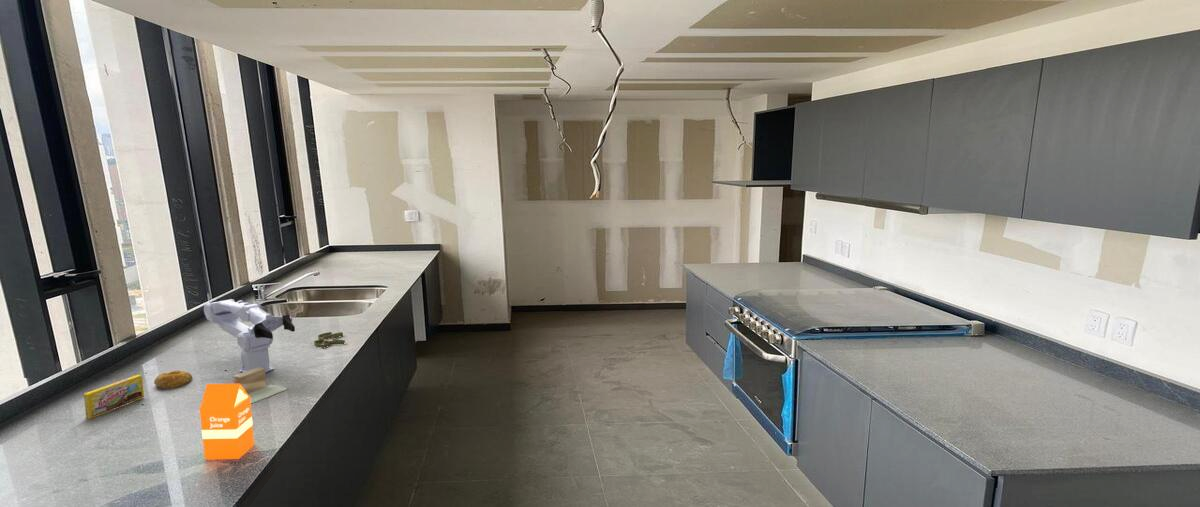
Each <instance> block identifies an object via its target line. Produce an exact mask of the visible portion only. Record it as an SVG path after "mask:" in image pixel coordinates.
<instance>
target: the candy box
mask: <svg viewBox="0 0 1200 507" xmlns="http://www.w3.org/2000/svg"><path fill="white" fill-rule="evenodd" d="M143 385H144V382H143V375H142V374H135V375H133V376H131V377H127V378H124V379H121V380H119V381H115V382H113V383H110V384H107V385H103V386H102V387H100V388H96V389H94V390H91V391H88V392H84V393H83V400H84V412H85V419H86V418H92V419H94V418H96V416H97V417H99V416H102V415H104V414H106V413H105V412H107V411H109V412H111V411H110V410H112V409H114V408H117V407H119V408H121V407H120V406H122V405H124V406H126V405H125V404H127V403H129V404H131V403H130V402H132V401H134V402H136V401H135V400H137V401H138V399H139V400H141V399H140V398H142V399H144V398H145V395H144V392H145V391H144V386H143ZM143 397H144V398H143ZM132 403H133V402H132ZM127 405H128V404H127ZM122 407H123V406H122ZM117 409H118V408H117ZM114 410H115V409H114ZM112 411H113V410H112ZM103 413H104V414H103ZM107 413H108V412H107ZM101 414H102V415H101ZM98 415H99V416H98ZM93 417H94V418H93Z"/></svg>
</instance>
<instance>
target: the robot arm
mask: <svg viewBox="0 0 1200 507" xmlns="http://www.w3.org/2000/svg"><path fill="white" fill-rule="evenodd" d="M203 312H204V313H203V314H204V316H205V318H206V319H207V320H208V321H209V322H212V323H213V324H215V325H217V326H218V327H219V328H220V329H221V331H224V332H226V333H228V334H229V335H231V336H234V338H236V339H237V341H236V342H237V345H238V346H239V347H240V349H242V351H241V352H240V364H241V369H239V372H240V373H243V372H246V371H249V370H252V369H255V368H258V367H260V368H264V369H265V373H267V372H271V371H274V370H275V369H276V367H274V366H270V354H269V348H271V345H273V344H272V343H273V341H274V334H273V332H274V331H276V330H277V329H279V328H281V327H283V330H284V331H285V330H287V331H289V332H293V333H294V332H296V331H295V330H296V329H295V325H294V324H293V317H292V316H291V315H289V314H285V315H281V316H280V315H276V316H275V315H273V313H268V312H267V311H265V310H263V307H262V305H261V304H260V303H259V302H256V303H253V304H252V303H250V302H244V301H243V300H237V301H235V299H234V298H233V299H232V298H230V299H224V300H219V301H214V302H207V303H205V304H204V305H203ZM239 318H240V320H241V321H239V320H238V319H239ZM246 322H250V323H251V324H253V325H251V326H248V325H246V324H245V323H246Z"/></svg>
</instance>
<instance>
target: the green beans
mask: <svg viewBox="0 0 1200 507" xmlns="http://www.w3.org/2000/svg"><path fill="white" fill-rule="evenodd" d="M339 336H342V337H344V332H343V331H341V332H340V331H339V332H337V333H333V332H332V331H329V332H324V333H320V334H318V335H317V340H314V341H313V345H314V347H315V346H316V347H315V348H318V347H322V348H323V349H325V348H328V347H329V346H331V345H330V344H344V343H345V344H346V339H338V338H337V337H339ZM321 337H322V338H321ZM331 337H332V338H331ZM328 338H330V339H331V340H329V339H328ZM334 338H336V339H334ZM339 338H340V337H339ZM324 339H326V340H324ZM322 342H324V343H322ZM318 343H319V344H318ZM345 344H344V345H345ZM327 346H328V347H327ZM324 347H325V348H324ZM322 348H321V349H322Z"/></svg>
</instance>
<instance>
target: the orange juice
mask: <svg viewBox="0 0 1200 507" xmlns="http://www.w3.org/2000/svg"><path fill="white" fill-rule="evenodd" d="M205 386H206V387H205V390H204V393H203V397H202V399H201V403H200V406H199V413H200V414H199V417H200V426H201V436H202V443H203V453H204V460H205V459H206V460H207V459H208V460H238V459H240V458H242V456H244V455H245V454H246V453H247V452H248V451H249V450H250V449H252V448H253V446H254V445H255V440H254V439H255V438H254V427H253V425H254V424H253V423H254V422H253V416H252V404H251V403H250V397H249V396H248V394H247V393H246V391H245V390H244V389H243V387H242V386H241V385H240V384H234V383H206V385H205Z"/></svg>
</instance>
